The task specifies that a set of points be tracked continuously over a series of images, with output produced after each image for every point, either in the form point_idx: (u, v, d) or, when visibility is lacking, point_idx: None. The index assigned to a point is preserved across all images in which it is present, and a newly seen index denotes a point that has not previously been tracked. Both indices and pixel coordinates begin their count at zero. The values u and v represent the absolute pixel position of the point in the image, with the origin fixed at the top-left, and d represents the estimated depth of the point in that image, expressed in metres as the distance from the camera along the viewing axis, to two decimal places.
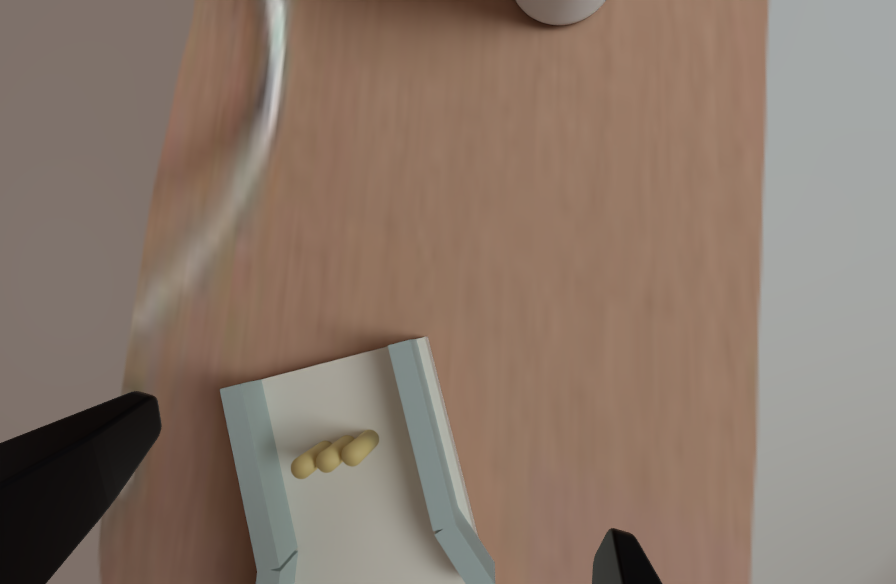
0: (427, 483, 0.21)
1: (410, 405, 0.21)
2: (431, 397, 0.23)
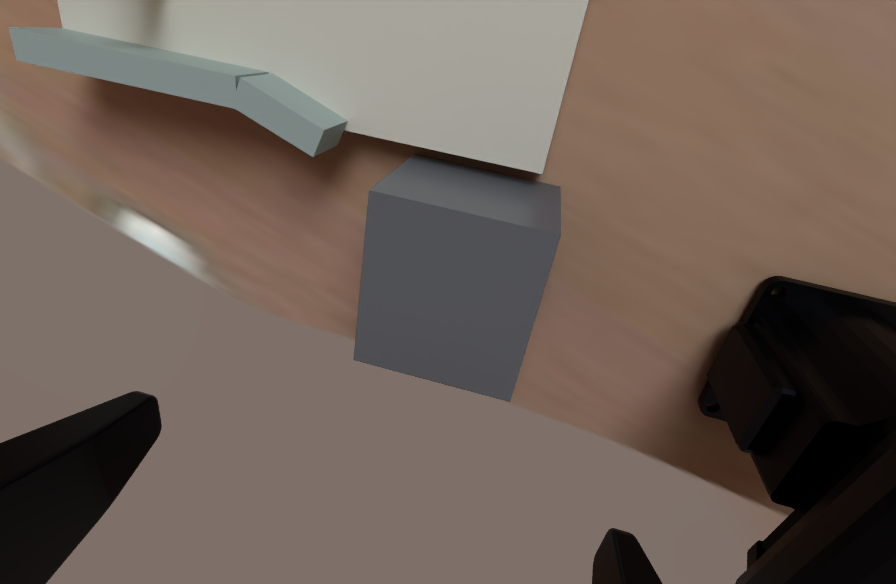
0: None
1: None
2: None
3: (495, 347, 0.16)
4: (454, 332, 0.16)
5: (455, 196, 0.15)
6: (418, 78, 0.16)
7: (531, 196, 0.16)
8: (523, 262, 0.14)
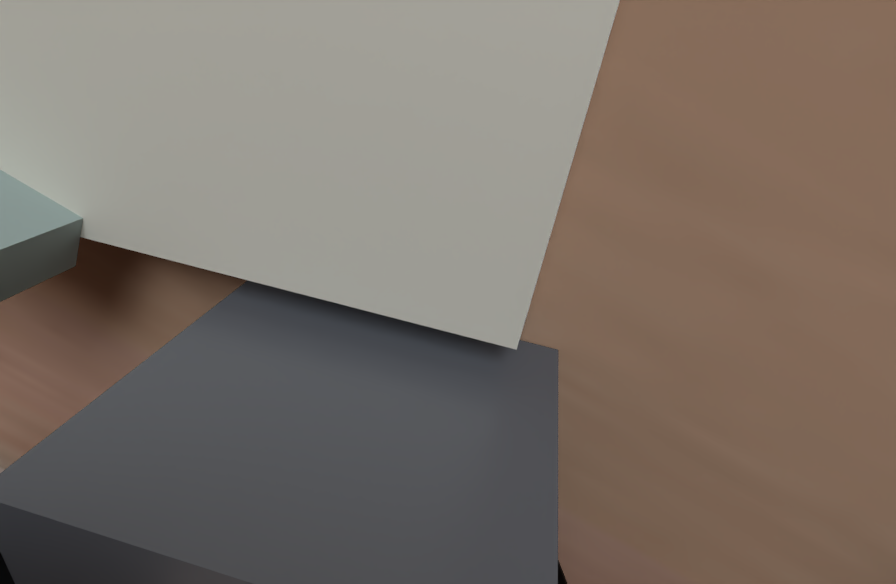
0: None
1: None
2: None
3: None
4: None
5: (269, 467, 0.05)
6: (211, 131, 0.07)
7: (488, 412, 0.07)
8: None
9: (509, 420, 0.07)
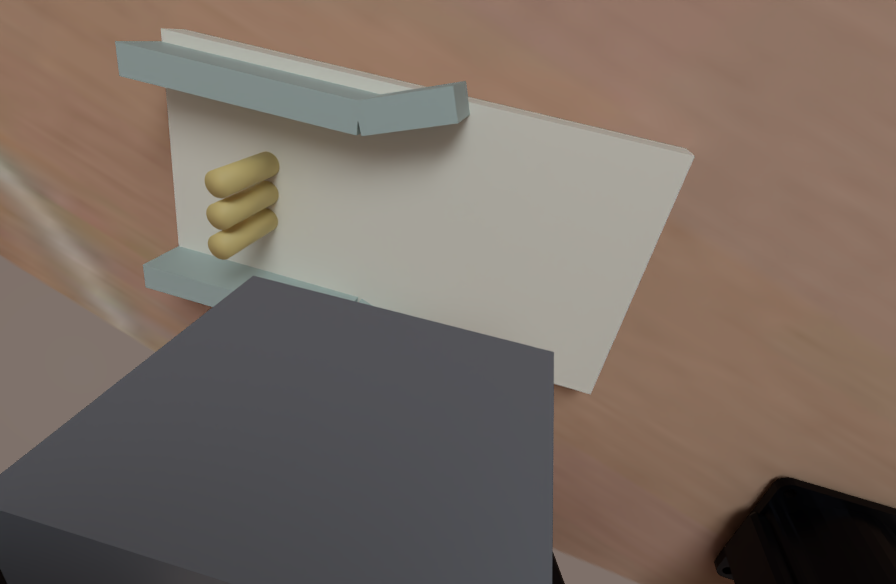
0: (296, 111, 0.15)
1: (197, 84, 0.15)
2: (235, 58, 0.16)
3: None
4: None
5: (265, 472, 0.05)
6: (488, 316, 0.19)
7: (484, 415, 0.07)
8: None
9: (504, 423, 0.07)
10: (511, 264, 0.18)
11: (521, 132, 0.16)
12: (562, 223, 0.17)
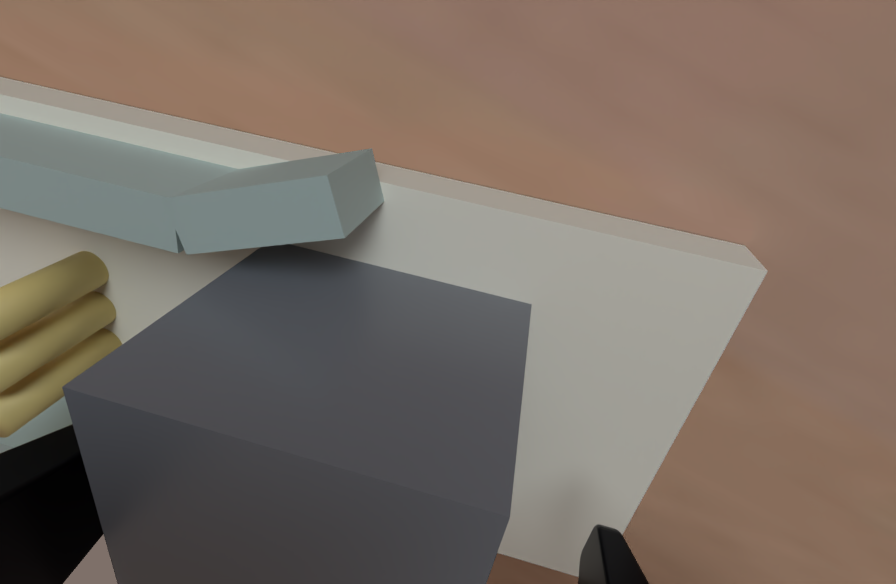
0: (74, 214, 0.09)
1: None
2: (7, 114, 0.10)
3: None
4: None
5: (289, 378, 0.07)
6: None
7: (468, 347, 0.08)
8: (427, 554, 0.06)
9: (485, 353, 0.08)
10: None
11: (470, 229, 0.09)
12: (544, 364, 0.10)
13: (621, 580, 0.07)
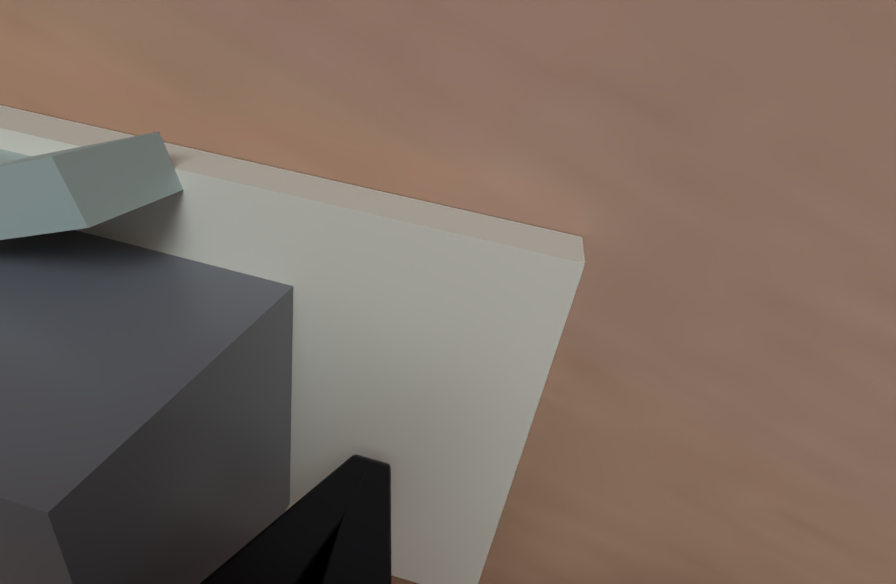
0: None
1: None
2: None
3: None
4: None
5: None
6: (300, 492, 0.12)
7: (170, 328, 0.07)
8: (5, 556, 0.05)
9: (186, 335, 0.07)
10: (313, 422, 0.11)
11: (275, 220, 0.09)
12: (378, 367, 0.10)
13: (362, 503, 0.08)
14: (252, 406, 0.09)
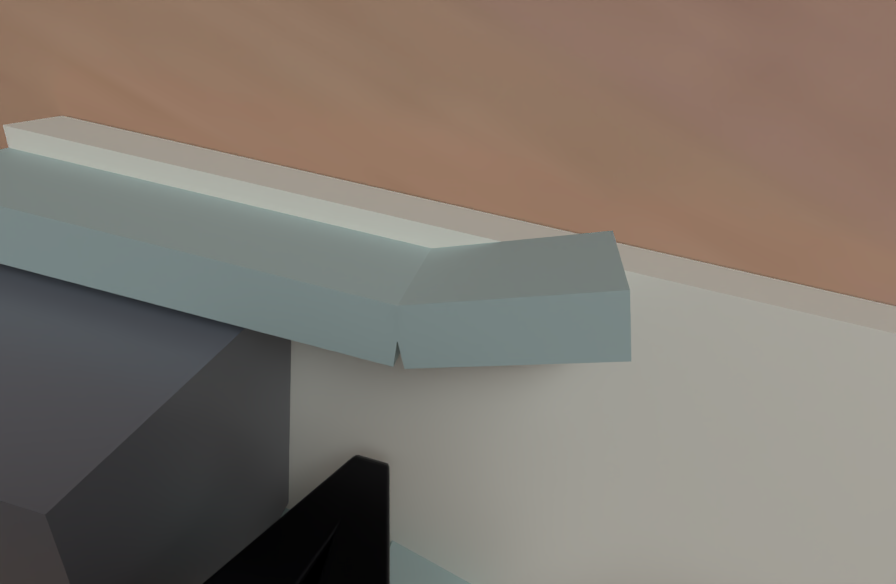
0: (263, 318, 0.07)
1: (54, 258, 0.07)
2: (147, 180, 0.09)
3: None
4: None
5: None
6: (613, 583, 0.11)
7: (168, 327, 0.07)
8: (2, 558, 0.05)
9: (184, 334, 0.07)
10: (665, 519, 0.10)
11: (720, 324, 0.08)
12: (778, 471, 0.09)
13: (360, 502, 0.08)
14: (251, 406, 0.09)
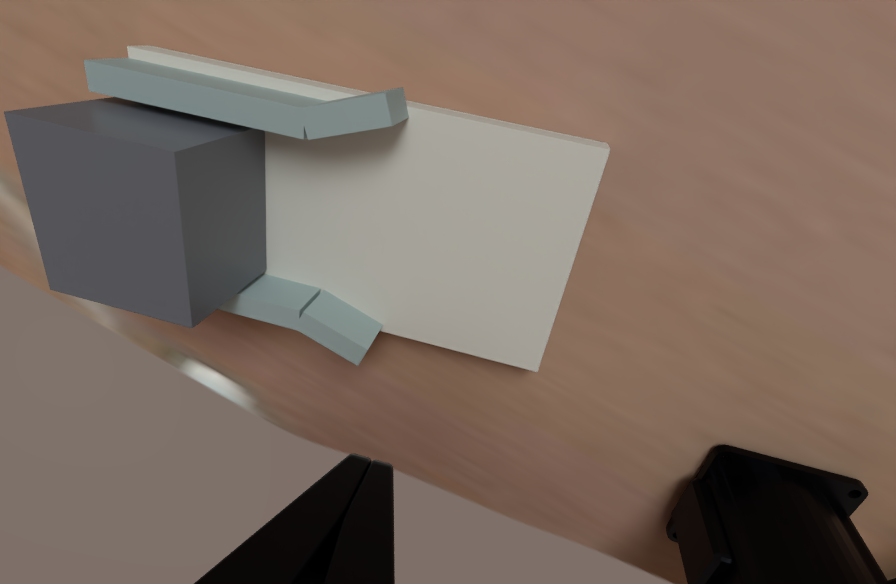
0: (249, 119, 0.16)
1: (159, 96, 0.17)
2: (196, 71, 0.18)
3: (161, 271, 0.16)
4: (122, 257, 0.16)
5: (106, 122, 0.15)
6: (440, 302, 0.20)
7: (207, 128, 0.17)
8: (154, 182, 0.15)
9: (215, 130, 0.17)
10: (456, 253, 0.19)
11: (455, 132, 0.17)
12: (498, 214, 0.18)
13: (364, 504, 0.08)
14: (244, 179, 0.18)
